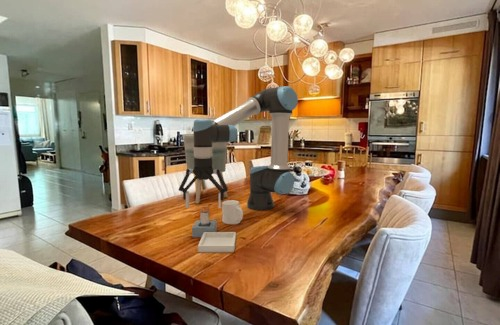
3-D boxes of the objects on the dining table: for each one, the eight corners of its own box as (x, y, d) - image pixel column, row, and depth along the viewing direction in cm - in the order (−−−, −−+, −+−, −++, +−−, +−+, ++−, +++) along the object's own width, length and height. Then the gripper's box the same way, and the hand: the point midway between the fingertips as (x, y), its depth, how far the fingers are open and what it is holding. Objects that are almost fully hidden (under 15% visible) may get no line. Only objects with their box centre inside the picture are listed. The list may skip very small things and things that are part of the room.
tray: (235, 237, 113) (235, 232, 112) (233, 252, 100) (233, 245, 99) (204, 237, 113) (204, 232, 112) (198, 252, 100) (197, 245, 100)
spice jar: (209, 231, 119) (209, 206, 118) (208, 234, 116) (208, 209, 114) (201, 231, 119) (200, 206, 118) (200, 234, 116) (199, 209, 114)
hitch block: (216, 229, 122) (216, 220, 122) (214, 237, 113) (213, 228, 113) (196, 229, 122) (196, 220, 122) (192, 237, 113) (191, 228, 113)
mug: (217, 202, 131) (230, 198, 137) (218, 221, 133) (230, 217, 138) (235, 207, 123) (247, 203, 129) (235, 227, 125) (247, 222, 130)
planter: (236, 196, 177) (236, 133, 172) (209, 207, 155) (207, 135, 150) (205, 191, 191) (204, 133, 186) (176, 200, 169) (173, 134, 164)
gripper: (234, 156, 117) (233, 205, 120) (175, 156, 117) (176, 204, 120) (232, 158, 109) (232, 210, 112) (170, 157, 110) (171, 209, 112)
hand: (203, 207), depth 116 cm, fingers open, 13 cm apart
